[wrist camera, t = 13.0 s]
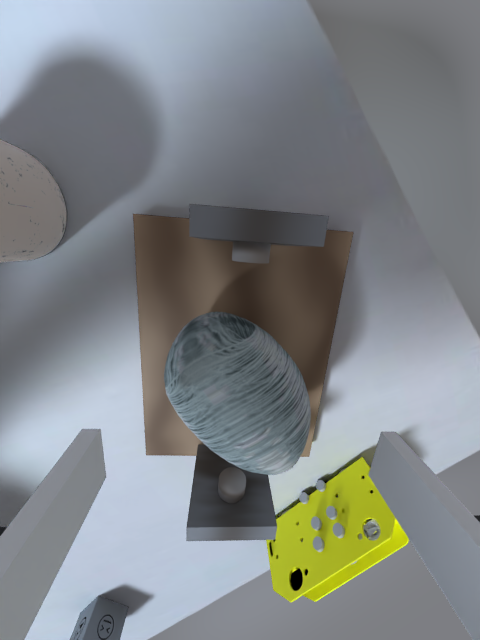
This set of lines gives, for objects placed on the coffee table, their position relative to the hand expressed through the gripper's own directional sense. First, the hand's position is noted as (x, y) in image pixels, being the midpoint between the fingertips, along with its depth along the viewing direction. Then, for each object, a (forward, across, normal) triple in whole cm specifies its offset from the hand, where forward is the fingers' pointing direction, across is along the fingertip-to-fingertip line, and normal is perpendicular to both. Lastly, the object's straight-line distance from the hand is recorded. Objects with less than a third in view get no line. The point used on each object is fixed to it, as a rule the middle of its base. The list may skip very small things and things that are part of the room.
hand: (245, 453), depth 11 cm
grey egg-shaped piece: (+12, -1, 0) cm, 12 cm away
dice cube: (+14, -16, -44) cm, 49 cm away
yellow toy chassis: (+14, +13, -21) cm, 28 cm away
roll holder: (+14, 0, -1) cm, 14 cm away
